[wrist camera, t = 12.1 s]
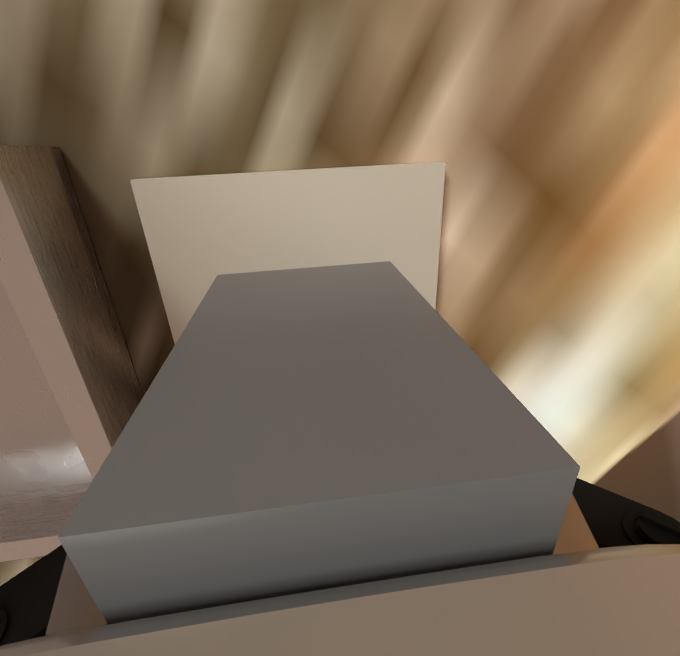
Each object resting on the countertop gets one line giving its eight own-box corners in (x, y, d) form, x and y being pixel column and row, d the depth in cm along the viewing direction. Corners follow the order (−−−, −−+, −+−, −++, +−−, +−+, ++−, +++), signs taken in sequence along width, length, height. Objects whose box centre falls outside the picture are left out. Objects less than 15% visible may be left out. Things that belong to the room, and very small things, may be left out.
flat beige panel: (439, 161, 13) (445, 162, 12) (422, 433, 18) (426, 441, 17) (137, 178, 12) (129, 180, 11) (211, 459, 17) (208, 469, 16)
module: (390, 261, 11) (579, 466, 4) (387, 442, 14) (491, 749, 7) (217, 274, 10) (57, 538, 3) (253, 459, 14) (211, 806, 6)
